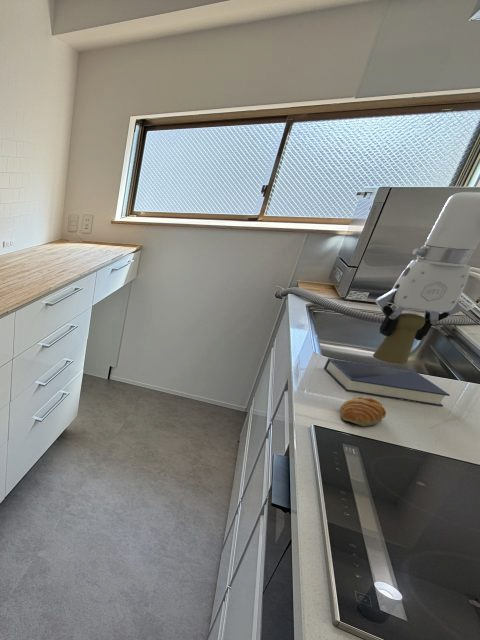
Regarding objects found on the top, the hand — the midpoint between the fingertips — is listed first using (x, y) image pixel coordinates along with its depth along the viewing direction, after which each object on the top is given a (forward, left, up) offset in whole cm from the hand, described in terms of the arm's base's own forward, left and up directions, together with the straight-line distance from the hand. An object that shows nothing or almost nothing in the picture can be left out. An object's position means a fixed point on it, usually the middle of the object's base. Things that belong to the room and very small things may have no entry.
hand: (400, 335), depth 96 cm
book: (-1, 0, -13) cm, 13 cm away
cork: (0, 0, -6) cm, 6 cm away
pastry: (+11, +22, -13) cm, 28 cm away
